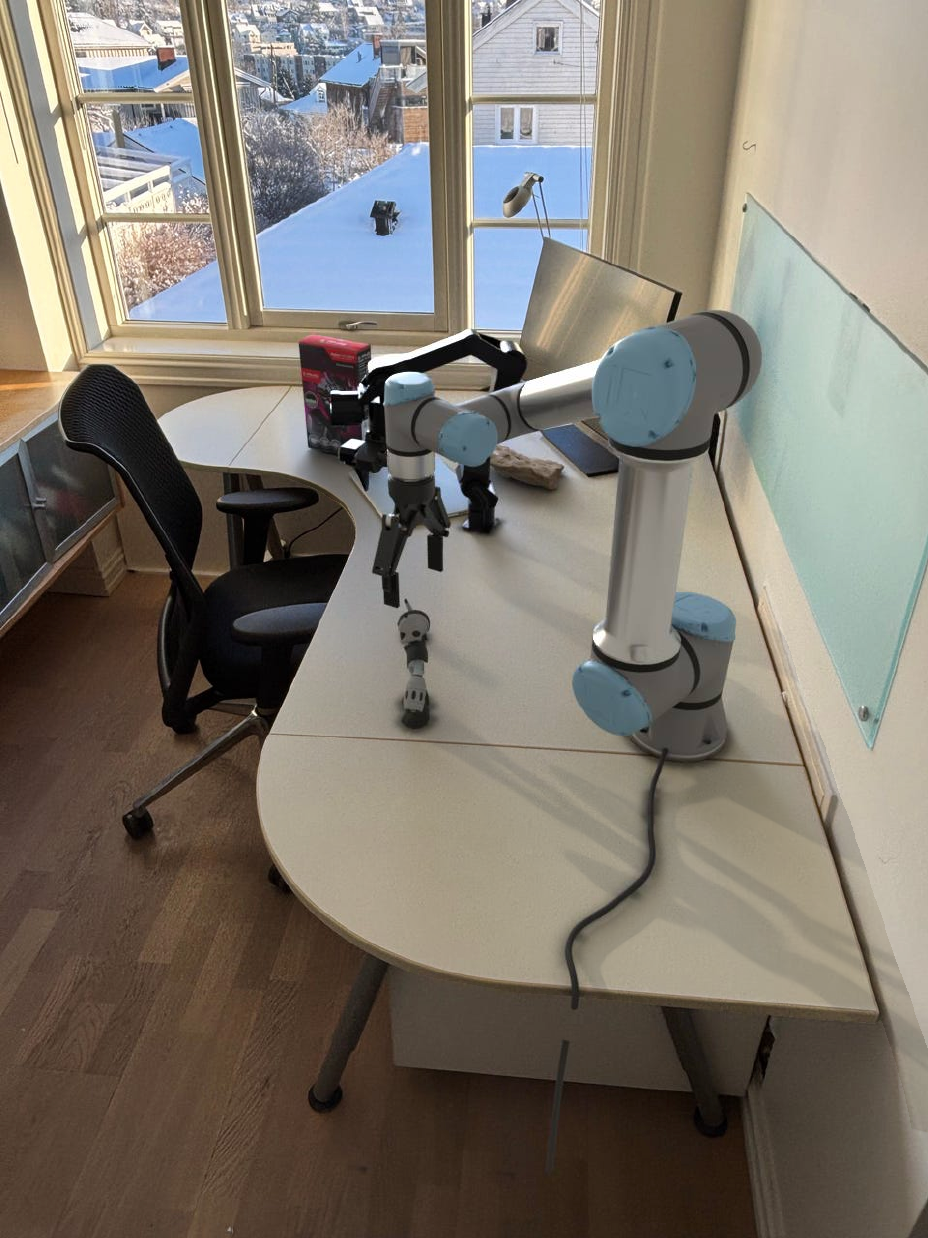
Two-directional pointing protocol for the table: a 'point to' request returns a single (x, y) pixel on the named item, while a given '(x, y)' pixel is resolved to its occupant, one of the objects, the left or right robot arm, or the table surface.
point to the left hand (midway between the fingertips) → (386, 494)
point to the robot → (415, 666)
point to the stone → (525, 467)
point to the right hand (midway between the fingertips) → (414, 586)
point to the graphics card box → (331, 387)
